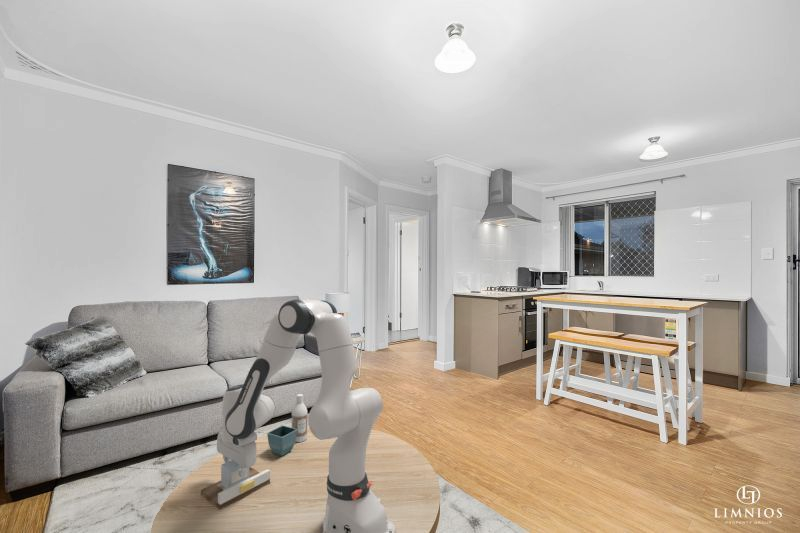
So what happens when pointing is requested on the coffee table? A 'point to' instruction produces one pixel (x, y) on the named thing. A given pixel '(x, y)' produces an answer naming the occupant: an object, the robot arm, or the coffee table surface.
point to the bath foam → (300, 419)
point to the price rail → (243, 486)
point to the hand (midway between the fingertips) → (235, 471)
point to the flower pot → (282, 439)
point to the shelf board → (216, 488)
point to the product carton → (232, 474)
